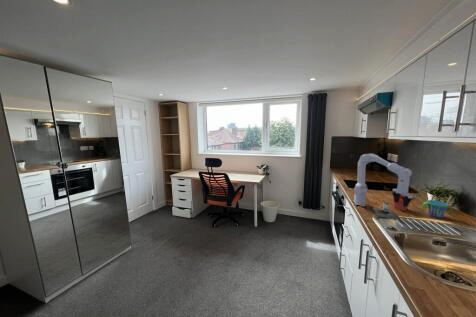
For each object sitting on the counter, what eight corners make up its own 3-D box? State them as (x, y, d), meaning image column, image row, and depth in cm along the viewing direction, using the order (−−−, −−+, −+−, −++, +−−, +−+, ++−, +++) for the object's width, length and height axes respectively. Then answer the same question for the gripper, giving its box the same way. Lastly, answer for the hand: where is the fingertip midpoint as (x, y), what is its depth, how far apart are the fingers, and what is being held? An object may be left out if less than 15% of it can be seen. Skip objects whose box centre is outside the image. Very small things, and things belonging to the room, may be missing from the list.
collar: (372, 210, 145) (372, 205, 144) (390, 212, 141) (391, 207, 141) (378, 217, 134) (379, 212, 133) (398, 219, 130) (399, 214, 129)
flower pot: (406, 213, 139) (408, 200, 138) (389, 208, 148) (390, 196, 147) (411, 209, 145) (412, 197, 144) (393, 205, 154) (395, 193, 153)
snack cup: (448, 215, 134) (450, 202, 133) (454, 221, 125) (456, 207, 124) (418, 210, 143) (420, 198, 141) (422, 216, 134) (424, 202, 133)
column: (380, 209, 139) (381, 201, 138) (387, 210, 138) (388, 202, 137) (383, 211, 136) (384, 203, 135) (389, 212, 135) (390, 204, 134)
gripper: (389, 182, 135) (387, 200, 137) (405, 189, 121) (403, 208, 123) (399, 182, 135) (397, 200, 137) (417, 189, 121) (414, 208, 123)
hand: (400, 204), depth 130 cm, fingers open, 7 cm apart
